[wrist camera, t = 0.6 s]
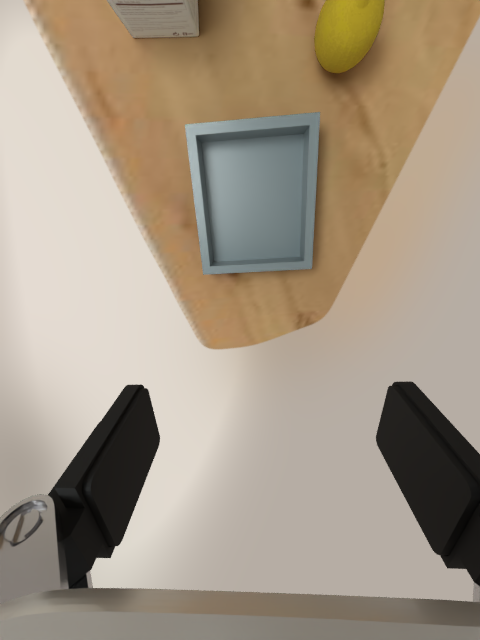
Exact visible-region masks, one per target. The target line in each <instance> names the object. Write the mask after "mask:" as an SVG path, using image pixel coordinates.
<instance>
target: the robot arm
mask: <svg viewBox="0 0 480 640" xmlns="http://www.w3.org/2000/svg"><path fill="white" fill-rule="evenodd" d="M376 441H377V445H378V447H379V449H380V451H381V453H382V455H383V457H384V459H385V461H386V462H387V464H388V466H389V468H390V470H391V472H392V474H393V476H394V478H395V480H396V481H397V483H398V485H399V487H400V489H401V491H402V493H403V495H404V497H405V498H406V500H407V502H408V504H409V506H410V508H411V510H412V512H413V514H414V516H415V518H416V520H417V521H418V523H419V525H420V527H421V529H422V531H423V533H424V535H425V537H426V538H427V540H428V542H429V544H430V546H431V548H432V549H433V551H434V552H435V553H436V554H438V555H441V558H442V559H443V561H444V563H445V565H446V567H447V568H458V569H467V571H468V572H469V574H470V576H471V578H472V579H473V581H474V591H473V602H467V601H465V602H464V601H451V600H433V599H410V598H387V597H363V596H339V595H338V596H337V595H312V594H286V593H259V592H258V593H257V592H231V591H199V590H167V589H119V588H111V589H110V588H93V586H92V580H91V574H90V570H91V569H92V566H93V564H94V562H95V559H96V558H111V555H112V553H113V550H114V548H115V546H118V545H119V544H120V543H121V541H122V539H123V537H124V534H125V531H126V529H127V526H128V524H129V521H130V519H131V516H132V513H133V511H134V508H135V506H136V503H137V501H138V498H139V495H140V493H141V490H142V487H143V485H144V482H145V480H146V477H147V475H148V472H149V470H150V467H151V464H152V462H153V459H154V457H155V454H156V451H157V449H158V446H159V442H160V435H159V432H158V427H157V424H156V419H155V416H154V411H153V407H152V404H151V400H150V396H149V392H148V389H146V388H144V386H143V385H127V386H126V387H125V388H124V389H123V391H122V392H121V393H120V395H119V396H118V398H117V399H116V401H115V402H114V404H113V405H112V406H111V408H110V409H109V411H108V412H107V413H106V415H105V416H104V418H103V419H102V421H101V422H100V423H99V424H98V425H97V427H96V428H95V429H94V431H93V432H92V433H91V435H90V436H89V438H88V439H87V440H86V442H85V443H84V445H83V446H82V448H81V449H80V451H79V452H78V453H77V455H76V456H75V457H74V459H73V460H72V462H71V463H70V465H69V466H68V468H67V469H66V470H65V472H64V473H63V474H62V476H61V477H60V479H59V480H58V482H57V483H56V484H55V486H54V487H53V489H52V490H51V492H50V493H49V494H48V495H42V494H39V495H35V496H31V497H28V498H26V499H24V500H22V501H20V502H19V503H17V504H16V505H14V506H13V507H11V508H10V509H9V510H8V511H6V512H5V513H4V514H3V515H2V516H1V517H0V640H480V454H479V453H478V452H477V451H476V450H475V449H474V447H472V445H471V444H470V443H469V442H468V441H467V440H466V439H465V438H464V437H463V436H462V435H461V433H460V432H459V431H458V430H457V429H456V428H455V427H454V426H453V425H452V424H451V423H450V421H449V420H448V419H447V418H446V417H445V416H444V415H443V414H442V413H441V412H440V411H439V409H438V408H437V407H436V406H435V405H434V404H433V403H432V402H431V401H430V400H429V399H428V398H427V396H426V395H425V394H424V393H423V392H422V391H421V390H420V389H419V388H418V387H417V386H416V384H414V383H413V382H394V383H393V385H392V386H389V387H388V390H387V395H386V399H385V403H384V407H383V411H382V415H381V419H380V423H379V427H378V431H377V435H376Z"/></svg>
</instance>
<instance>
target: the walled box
mask: <svg viewBox="0 0 480 640" xmlns="http://www.w3.org/2000/svg"><path fill="white" fill-rule="evenodd" d="M319 125H320V112H315V113H305V114H294V115H283V116H272V117H261V118H250V119H240V120H229V121H218V122H207V123H196V124H186V125H185V130H186V138H187V146H188V154H189V162H190V170H191V178H192V186H193V195H194V203H195V211H196V219H197V227H198V235H199V243H200V251H201V260H202V268H203V275H204V274H223V273H242V272H261V271H280V270H299V269H312V257H313V238H314V220H315V201H316V182H317V163H318V144H319Z"/></svg>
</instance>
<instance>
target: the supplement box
mask: <svg viewBox="0 0 480 640" xmlns="http://www.w3.org/2000/svg"><path fill="white" fill-rule="evenodd" d="M107 1H108V3H109V4H110V6H111V7H112V9H113V10H114V11H115V13H116V14H117V16H118V17H119V18H120V20H121V21H122V23H123V24H124V26H125V27H126V28H127V30H128V31H129V33H130V34H131V35H132V37H133V38H159V37H162V38H163V37H197V36H199V16H198V0H107Z"/></svg>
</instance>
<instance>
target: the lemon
mask: <svg viewBox="0 0 480 640" xmlns="http://www.w3.org/2000/svg"><path fill="white" fill-rule="evenodd" d="M384 3H385V1H384V0H326V1H325V3H324V5H323V7H322V9H321V11H320V15H319V18H318V21H317V24H316V30H315V38H314V42H315V52H316V56H317V59H318V61H319V63H320V65H321V66H322V67H323V68H324V69H325V70H327V71H329V72H331V73H342V72H345V71H347V70H349V69H351V68H353V67H354V66H355V65H356V64H357V63H359V62H360V61H361V60H362V59H363V57H364V56H365V55H366V53H367V52H368V51H369V49H370V48H371V46H372V44H373V42H374V40H375V38H376V36H377V34H378V32H379V29H380V25H381V22H382V18H383V13H384Z"/></svg>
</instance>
